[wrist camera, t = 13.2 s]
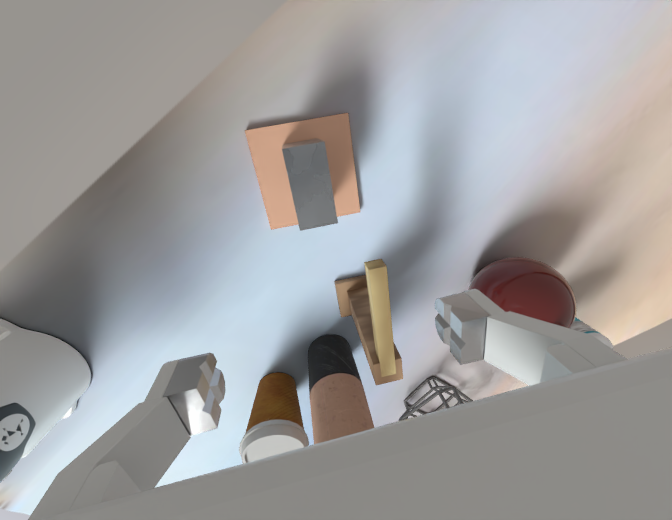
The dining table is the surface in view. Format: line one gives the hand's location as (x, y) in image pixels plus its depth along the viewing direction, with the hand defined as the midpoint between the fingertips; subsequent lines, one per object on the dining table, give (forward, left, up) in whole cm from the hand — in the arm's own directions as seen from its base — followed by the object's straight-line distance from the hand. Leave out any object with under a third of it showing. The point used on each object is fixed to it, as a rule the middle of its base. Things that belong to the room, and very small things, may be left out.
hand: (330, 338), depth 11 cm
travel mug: (-1, -28, -30) cm, 41 cm away
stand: (+5, -13, -30) cm, 33 cm away
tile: (+1, +1, -30) cm, 30 cm away
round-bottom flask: (+27, -21, -30) cm, 45 cm away
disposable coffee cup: (-11, -33, -30) cm, 46 cm away
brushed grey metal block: (+1, +1, -29) cm, 29 cm away
